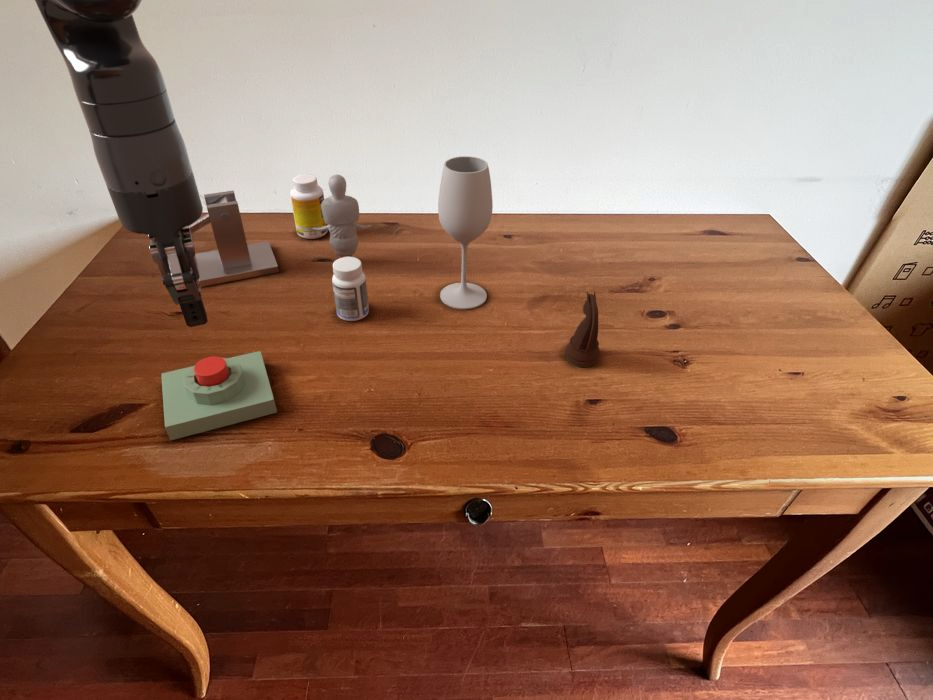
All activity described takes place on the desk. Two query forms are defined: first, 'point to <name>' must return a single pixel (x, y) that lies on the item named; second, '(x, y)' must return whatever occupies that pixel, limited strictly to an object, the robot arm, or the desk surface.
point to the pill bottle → (350, 289)
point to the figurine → (341, 218)
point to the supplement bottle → (307, 206)
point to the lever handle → (204, 218)
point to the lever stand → (232, 246)
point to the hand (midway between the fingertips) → (197, 322)
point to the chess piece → (585, 337)
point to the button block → (216, 397)
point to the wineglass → (465, 219)
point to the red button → (211, 371)
